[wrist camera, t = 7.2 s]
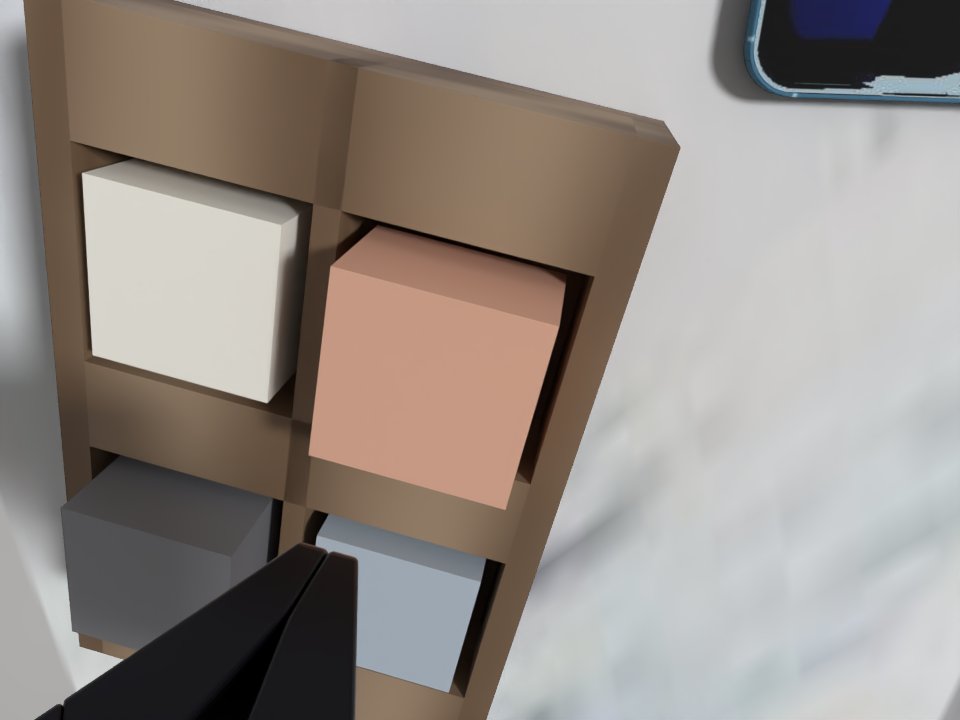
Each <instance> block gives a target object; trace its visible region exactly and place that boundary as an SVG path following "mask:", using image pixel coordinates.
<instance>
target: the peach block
mask: <svg viewBox="0 0 960 720" xmlns="http://www.w3.org/2000/svg"><path fill="white" fill-rule="evenodd" d="M566 279H567V274H564V273H560V272H556V271H552V270H548V269H545V268H541V267H537V266H533V265H529V264H525V263H522V262H518V261H514V260H510V259H506V258H502V257H498V256H495V255H491V254H487V253H483V252H479V251H475V250H471V249H468V248H464V247H460V246H456V245H452V244H448V243H445V242H441V241H437V240H433V239H429V238H425V237H421V236H418V235H414V234H410V233H406V232H402V231H398V230H395V229H391V228H387V227H383V226H379V225H377V226H376V227H375V228H374V229H373V230H372V231H371V232H369V233H368V234H367V235H366V236H365V237H364V238H362V239H361V240H360V241H359V242H358V243H357V244H356V245H354V246H353V247H352V248H351V249H350V250H349V251H348V252H346V253H345V254H344V255H343V256H342V257H341V258H339V259H338V260H337V261H336V262H335V263H334V264H333V265H331V267H330V276H329V284H328V293H327V301H326V310H325V319H324V327H323V336H322V344H321V353H320V361H319V370H318V378H317V387H316V395H315V404H314V412H313V421H312V429H311V438H310V446H309V455H310V456H314V457H317V458H321V459H324V460H328V461H332V462H335V463H339V464H342V465H346V466H349V467H353V468H357V469H360V470H364V471H367V472H371V473H375V474H378V475H382V476H385V477H389V478H393V479H396V480H400V481H403V482H407V483H410V484H414V485H418V486H421V487H425V488H428V489H432V490H436V491H439V492H443V493H446V494H450V495H454V496H457V497H461V498H464V499H468V500H471V501H475V502H479V503H482V504H486V505H489V506H493V507H497V508H500V509H504V510H505V509H506V506H507V503H508V499H509V496H510V492H511V489H512V486H513V482H514V479H515V475H516V472H517V469H518V465H519V462H520V458H521V455H522V452H523V448H524V445H525V441H526V438H527V435H528V431H529V428H530V425H531V421H532V418H533V414H534V411H535V408H536V404H537V401H538V397H539V394H540V391H541V387H542V384H543V380H544V377H545V374H546V370H547V367H548V363H549V360H550V357H551V353H552V350H553V346H554V343H555V340H556V336H557V333H558V329H559V326H560V319H561V312H562V306H563V299H564V292H565V286H566Z"/></svg>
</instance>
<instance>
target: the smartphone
mask: <svg viewBox="0 0 960 720" xmlns="http://www.w3.org/2000/svg"><path fill="white" fill-rule="evenodd" d="M744 60H745V64H746V68H747V70H748V72H749V74H750V76H751V77H752V79H753V80H754V81H755V83H757V84H758V85H759V86H760V87H761V88H763V89H765V90H766V91H768V92H771V93H774V94H777V95H781V96H787V97H804V98H833V99H862V100H890V101H919V102H948V103H960V0H751V6H750V12H749V18H748V24H747V30H746V36H745V42H744Z"/></svg>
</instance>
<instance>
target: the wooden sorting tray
mask: <svg viewBox="0 0 960 720" xmlns="http://www.w3.org/2000/svg"><path fill="white" fill-rule="evenodd" d="M23 1H24V12H25V24H26V35H27V47H28V58H29V70H30V81H31V93H32V104H33V116H34V127H35V139H36V150H37V162H38V173H39V185H40V196H41V208H42V219H43V230H44V242H45V253H46V265H47V276H48V288H49V299H50V311H51V322H52V334H53V345H54V357H55V368H56V380H57V391H58V403H59V414H60V426H61V437H62V449H63V460H64V472H65V483H66V495H67V502H68V501H69V500H70V499H72V498H73V497H74V496H75V495H76V494H77V493H78V492H80V491H81V490H82V489H83V488H84V487H85V486H86V485H87V484H89V483H90V482H91V481H92V480H93V479H94V478H95V477H96V476H98V475H99V474H100V473H101V472H102V471H103V470H104V469H106V468H107V467H108V466H109V465H110V464H111V463H112V462H113V461H115V460H116V459H117V458H118V457H119V456H120V455H123V456H127V457H130V458H134V459H137V460H141V461H144V462H148V463H151V464H155V465H158V466H162V467H165V468H169V469H173V470H176V471H180V472H183V473H187V474H190V475H194V476H197V477H201V478H204V479H208V480H211V481H215V482H219V483H222V484H226V485H229V486H233V487H236V488H240V489H243V490H247V491H250V492H254V493H257V494H261V495H264V496H268V497H272V498H275V499H279V500H281V510H280V520H279V530H278V541H277V551H276V557H278V556H279V555H281V554H282V553H284V552H285V551H287V550H288V549H290V548H291V547H293V546H294V545H296V544H298V543H307V544H310V545H314V546H316V539H317V534H318V533H319V531H320V529H321V527H322V526H323V524H324V522H325V520H326V519H327V517H328V515H329V514H332V515H335V516H339V517H342V518H346V519H349V520H353V521H356V522H360V523H363V524H367V525H371V526H374V527H378V528H381V529H385V530H388V531H392V532H395V533H399V534H402V535H406V536H409V537H413V538H417V539H420V540H424V541H427V542H431V543H434V544H438V545H441V546H445V547H448V548H452V549H455V550H459V551H462V552H466V553H470V554H473V555H477V556H480V557H484V558H486V562H485V566H484V571H483V575H482V580H481V584H480V587H479V590H478V594H477V597H476V601H475V604H474V608H473V611H472V614H471V618H470V621H469V625H468V628H467V632H466V635H465V638H464V642H463V645H462V649H461V652H460V656H459V659H458V662H457V666H456V669H455V673H454V676H453V680H452V683H451V687H450V690H449V693H448V692H444V691H441V690H437V689H434V688H431V687H427V686H424V685H420V684H417V683H414V682H410V681H407V680H403V679H400V678H397V677H393V676H390V675H386V674H383V673H380V672H376V671H373V670H369V669H366V668H363V667H359V666H356V708H355V720H486V719H487V716H488V713H489V710H490V707H491V704H492V701H493V698H494V695H495V692H496V689H497V686H498V683H499V680H500V677H501V674H502V671H503V669H504V666H505V663H506V660H507V657H508V654H509V651H510V648H511V645H512V642H513V639H514V636H515V633H516V630H517V627H518V624H519V621H520V618H521V616H522V613H523V610H524V607H525V604H526V601H527V598H528V595H529V592H530V589H531V586H532V583H533V580H534V577H535V574H536V571H537V568H538V566H539V563H540V560H541V557H542V554H543V551H544V548H545V545H546V542H547V539H548V536H549V533H550V530H551V527H552V524H553V521H554V518H555V515H556V513H557V510H558V507H559V504H560V501H561V498H562V495H563V492H564V489H565V486H566V483H567V480H568V477H569V474H570V471H571V468H572V465H573V463H574V460H575V457H576V454H577V451H578V448H579V445H580V442H581V439H582V436H583V433H584V430H585V427H586V424H587V421H588V418H589V415H590V412H591V410H592V407H593V404H594V401H595V398H596V395H597V392H598V389H599V386H600V383H601V380H602V377H603V374H604V371H605V368H606V365H607V362H608V360H609V357H610V354H611V351H612V348H613V345H614V342H615V339H616V336H617V333H618V330H619V327H620V324H621V321H622V318H623V315H624V312H625V309H626V307H627V304H628V301H629V298H630V295H631V292H632V289H633V286H634V283H635V280H636V277H637V274H638V271H639V268H640V265H641V262H642V259H643V257H644V254H645V251H646V248H647V245H648V242H649V239H650V236H651V233H652V230H653V227H654V224H655V221H656V218H657V215H658V212H659V209H660V206H661V204H662V201H663V198H664V195H665V192H666V189H667V186H668V183H669V180H670V177H671V174H672V171H673V168H674V165H675V162H676V159H677V156H678V154H679V151H680V146H679V144H678V143H677V141H676V140H675V138H674V137H673V135H672V134H671V132H670V130H669V129H668V127H667V126H666V124H665V123H664V121H660V120H656V119H652V118H648V117H644V116H640V115H636V114H632V113H628V112H624V111H620V110H616V109H612V108H608V107H604V106H600V105H595V104H591V103H587V102H583V101H579V100H575V99H571V98H567V97H563V96H559V95H555V94H551V93H547V92H543V91H539V90H535V89H531V88H527V87H523V86H518V85H514V84H510V83H506V82H502V81H498V80H494V79H490V78H486V77H482V76H478V75H474V74H470V73H466V72H462V71H458V70H454V69H450V68H445V67H441V66H437V65H433V64H429V63H425V62H421V61H417V60H413V59H409V58H405V57H401V56H397V55H393V54H389V53H385V52H381V51H377V50H373V49H368V48H364V47H360V46H356V45H352V44H348V43H344V42H340V41H336V40H332V39H328V38H324V37H320V36H316V35H312V34H308V33H304V32H300V31H296V30H291V29H287V28H283V27H279V26H275V25H271V24H267V23H263V22H259V21H255V20H251V19H247V18H243V17H239V16H235V15H231V14H227V13H223V12H219V11H214V10H210V9H206V8H202V7H198V6H194V5H190V4H186V3H182V2H178V1H174V0H23ZM134 158H139V159H143V160H147V161H151V162H155V163H158V164H162V165H166V166H170V167H174V168H178V169H182V170H185V171H189V172H193V173H197V174H201V175H205V176H209V177H212V178H216V179H220V180H224V181H228V182H232V183H236V184H239V185H243V186H247V187H251V188H255V189H259V190H263V191H266V192H270V193H274V194H278V195H282V196H286V197H289V198H293V199H297V200H301V201H305V202H309V203H313V213H312V223H311V233H310V243H309V253H308V263H307V273H306V283H305V293H304V303H303V313H302V323H301V333H300V343H299V353H298V363H297V371H296V372H295V373H294V374H293V375H292V376H291V377H290V379H289V380H288V381H287V382H286V383H285V384H284V385H283V386H282V387H281V389H280V390H279V391H278V392H277V393H276V394H275V395H274V396H273V397H272V399H271V400H270V401H269V402H268V403H264V402H261V401H257V400H254V399H250V398H246V397H243V396H239V395H235V394H232V393H228V392H225V391H221V390H217V389H214V388H210V387H206V386H203V385H199V384H196V383H192V382H188V381H185V380H181V379H177V378H174V377H170V376H167V375H163V374H159V373H156V372H152V371H148V370H145V369H141V368H138V367H134V366H130V365H127V364H123V363H119V362H116V361H112V360H109V359H105V358H101V357H98V356H94V355H93V354H92V336H91V319H90V302H89V284H88V267H87V250H86V232H85V215H84V198H83V180H82V173H84V172H87V171H91V170H95V169H98V168H102V167H105V166H109V165H113V164H116V163H120V162H123V161H127V160H131V159H134ZM377 225H379V226H383V227H387V228H391V229H395V230H398V231H402V232H406V233H410V234H414V235H418V236H421V237H425V238H429V239H433V240H437V241H441V242H445V243H448V244H452V245H456V246H460V247H464V248H468V249H471V250H475V251H479V252H483V253H487V254H491V255H495V256H498V257H502V258H506V259H510V260H514V261H518V262H522V263H525V264H529V265H533V266H537V267H541V268H545V269H548V270H552V271H556V272H560V273H564V274H567V279H566V286H565V292H564V299H563V306H562V312H561V319H560V326H559V329H558V333H557V336H556V340H555V343H554V346H553V350H552V353H551V357H550V360H549V363H548V367H547V370H546V374H545V377H544V380H543V384H542V387H541V391H540V394H539V397H538V401H537V404H536V408H535V411H534V414H533V418H532V421H531V425H530V428H529V431H528V435H527V438H526V441H525V445H524V448H523V452H522V455H521V458H520V462H519V465H518V469H517V472H516V475H515V479H514V482H513V486H512V489H511V492H510V496H509V499H508V503H507V506H506V509H505V510H504V509H500V508H497V507H493V506H489V505H486V504H482V503H479V502H475V501H471V500H468V499H464V498H461V497H457V496H454V495H450V494H446V493H443V492H439V491H436V490H432V489H428V488H425V487H421V486H418V485H414V484H410V483H407V482H403V481H400V480H396V479H393V478H389V477H385V476H382V475H378V474H375V473H371V472H367V471H364V470H360V469H357V468H353V467H349V466H346V465H342V464H339V463H335V462H332V461H328V460H324V459H321V458H317V457H314V456H310V455H309V446H310V438H311V429H312V421H313V412H314V404H315V395H316V387H317V378H318V370H319V361H320V353H321V344H322V336H323V327H324V319H325V310H326V301H327V293H328V284H329V276H330V267H331V265H333V264H334V263H335V262H336V261H337V260H338V259H339V258H341V257H342V256H343V255H344V254H345V253H346V252H348V251H349V250H350V249H351V248H352V247H353V246H354V245H356V244H357V243H358V242H359V241H360V240H361V239H362V238H364V237H365V236H366V235H367V234H368V233H369V232H371V231H372V230H373V229H374V228H375V227H376V226H377ZM79 644H80V647H84V648H87V649H90V650H94V651H97V652H100V653H104V654H107V655H110V656H114V657H117V658H120V659H126V658H127V657H129V656H130V655H132V654H133V653H135V652H136V651H138V650H134V649H131V648H127V647H124V646H121V645H117V644H114V643H111V642H107V641H104V640H101V639H97V638H94V637H91V636H87V635H84V634H80V633H79Z"/></svg>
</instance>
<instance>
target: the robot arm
mask: <svg viewBox="0 0 960 720" xmlns="http://www.w3.org/2000/svg"><path fill="white" fill-rule="evenodd" d="M357 610H358V560H357V558H355V557H353V556H349V555H346V554H342V553H339V552H335V551H332V552H330V553H328V552H327V550H326V549H324V548H321V547H317V546H314V545H310V544H307V543H298V544H296V545H294V546H293V547H291V548H290V549H288V550H287V551H285V552H284V553H282V554H281V555H279V556H278V557H276V558H275V559H273V560H272V561H270V562H269V563H267V564H266V565H264V566H263V567H261V568H260V569H258V570H257V571H255V572H254V573H252V574H251V575H249V576H248V577H246V578H245V579H243V580H242V581H240V582H239V583H238V584H236V585H235V586H233V587H232V588H230V589H229V590H227V591H226V592H224V593H223V594H221V595H220V596H218V597H217V598H215V599H214V600H212V601H211V602H209V603H208V604H206V605H205V606H203V607H202V608H200V609H199V610H197V611H196V612H194V613H193V614H191V615H190V616H188V617H187V618H185V619H184V620H182V621H181V622H180V623H178V624H177V625H175V626H174V627H172V628H171V629H169V630H168V631H166V632H165V633H163V634H162V635H160V636H159V637H157V638H156V639H154V640H153V641H151V642H150V643H148V644H147V645H145V646H144V647H142V648H141V649H139V650H138V651H136V652H135V653H133V654H132V655H130V656H129V657H127V658H126V659H124V660H123V661H122V662H120V663H119V664H117V665H116V666H114V667H113V668H111V669H110V670H108V671H107V672H105V673H104V674H102V675H101V676H99V677H98V678H96V679H95V680H93V681H92V682H90V683H89V684H87V685H86V686H84V687H83V688H81V689H80V690H78V691H77V692H75V693H74V694H72V695H71V696H70V697H68V698H67V699H65V701H64V705H63V706H62V705H61V704H57V705H56V706H54V707H53V708H51V709H50V710H48V711H47V712H46V713H44V714H42V715H41V716H39V717H38V718H36V719H35V720H355V708H356V659H357Z"/></svg>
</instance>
